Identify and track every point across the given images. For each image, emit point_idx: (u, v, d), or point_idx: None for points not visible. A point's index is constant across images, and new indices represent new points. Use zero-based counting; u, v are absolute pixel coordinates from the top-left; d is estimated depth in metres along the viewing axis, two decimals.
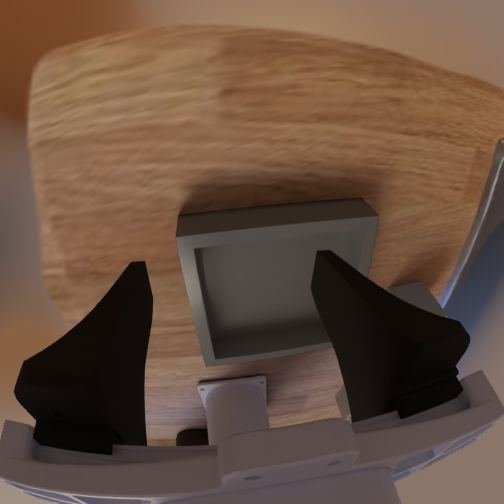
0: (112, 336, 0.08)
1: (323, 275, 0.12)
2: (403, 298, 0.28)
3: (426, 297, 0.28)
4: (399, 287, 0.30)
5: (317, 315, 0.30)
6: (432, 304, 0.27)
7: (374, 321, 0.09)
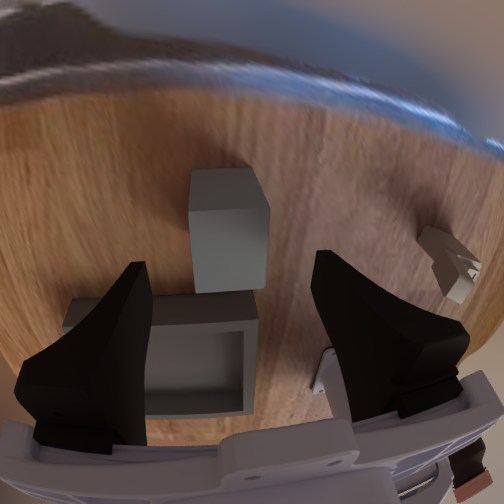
0: (112, 336, 0.08)
1: (323, 275, 0.12)
2: None
3: None
4: None
5: None
6: None
7: (373, 321, 0.09)
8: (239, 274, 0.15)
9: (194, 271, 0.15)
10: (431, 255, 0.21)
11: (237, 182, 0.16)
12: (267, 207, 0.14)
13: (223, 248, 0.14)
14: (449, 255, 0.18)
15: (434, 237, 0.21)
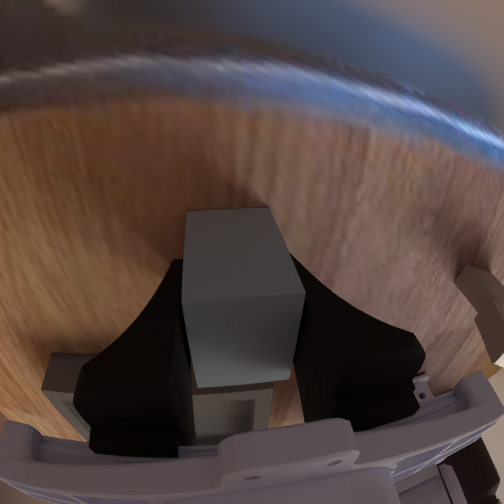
0: (175, 334, 0.08)
1: None
2: None
3: None
4: None
5: None
6: None
7: (318, 329, 0.08)
8: (256, 368, 0.11)
9: (195, 367, 0.10)
10: (471, 301, 0.17)
11: (252, 238, 0.11)
12: (301, 291, 0.09)
13: (234, 343, 0.10)
14: (498, 310, 0.13)
15: (475, 280, 0.17)
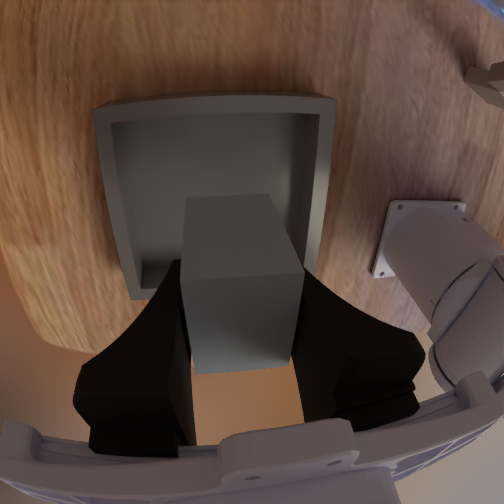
0: (175, 334, 0.08)
1: None
2: None
3: None
4: None
5: (289, 134, 0.20)
6: None
7: (318, 329, 0.08)
8: (255, 353, 0.11)
9: (193, 352, 0.10)
10: (481, 84, 0.17)
11: (251, 222, 0.11)
12: (300, 271, 0.09)
13: (233, 325, 0.10)
14: None
15: (479, 71, 0.17)
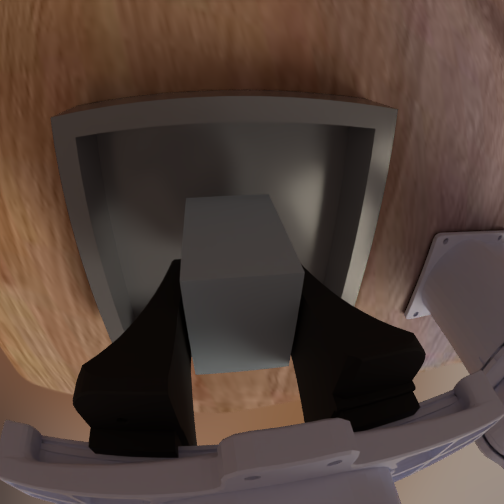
0: (175, 334, 0.08)
1: None
2: None
3: None
4: None
5: (326, 152, 0.15)
6: None
7: (318, 330, 0.08)
8: (255, 353, 0.11)
9: (193, 352, 0.10)
10: None
11: (251, 222, 0.11)
12: (300, 271, 0.09)
13: (233, 326, 0.10)
14: None
15: None
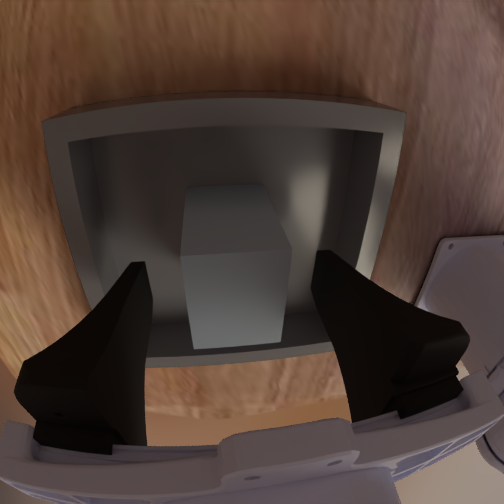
0: (112, 336, 0.08)
1: (323, 275, 0.12)
2: None
3: None
4: None
5: (330, 156, 0.14)
6: None
7: (374, 321, 0.09)
8: (249, 328, 0.12)
9: (191, 326, 0.11)
10: None
11: (245, 207, 0.12)
12: (288, 248, 0.10)
13: (228, 300, 0.11)
14: None
15: None
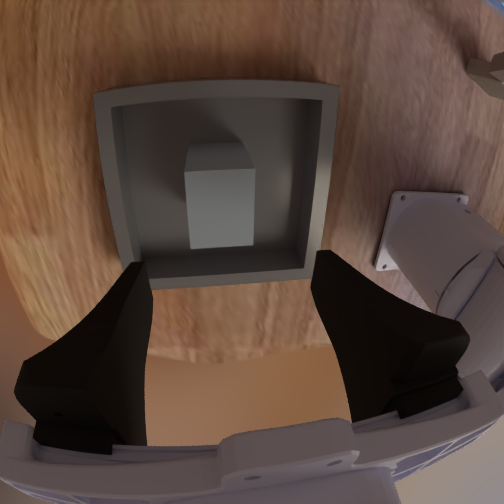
0: (112, 336, 0.08)
1: (323, 275, 0.12)
2: None
3: None
4: None
5: (291, 121, 0.20)
6: None
7: (374, 321, 0.09)
8: (229, 230, 0.17)
9: (189, 227, 0.17)
10: (483, 75, 0.16)
11: (228, 152, 0.18)
12: (253, 168, 0.15)
13: (214, 205, 0.16)
14: (501, 54, 0.13)
15: (481, 62, 0.16)
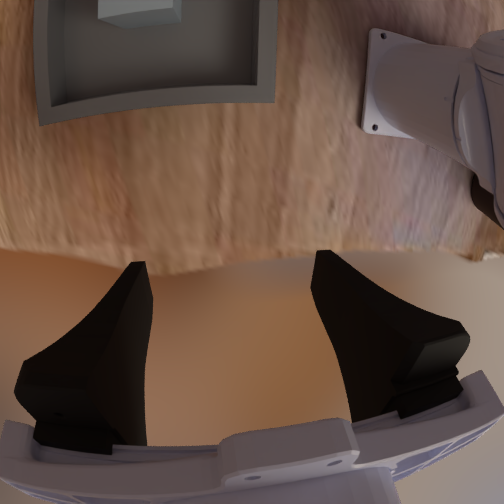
0: (112, 336, 0.08)
1: (323, 275, 0.12)
2: None
3: None
4: None
5: None
6: None
7: (374, 321, 0.09)
8: None
9: None
10: None
11: None
12: None
13: None
14: None
15: None
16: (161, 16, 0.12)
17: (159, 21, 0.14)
